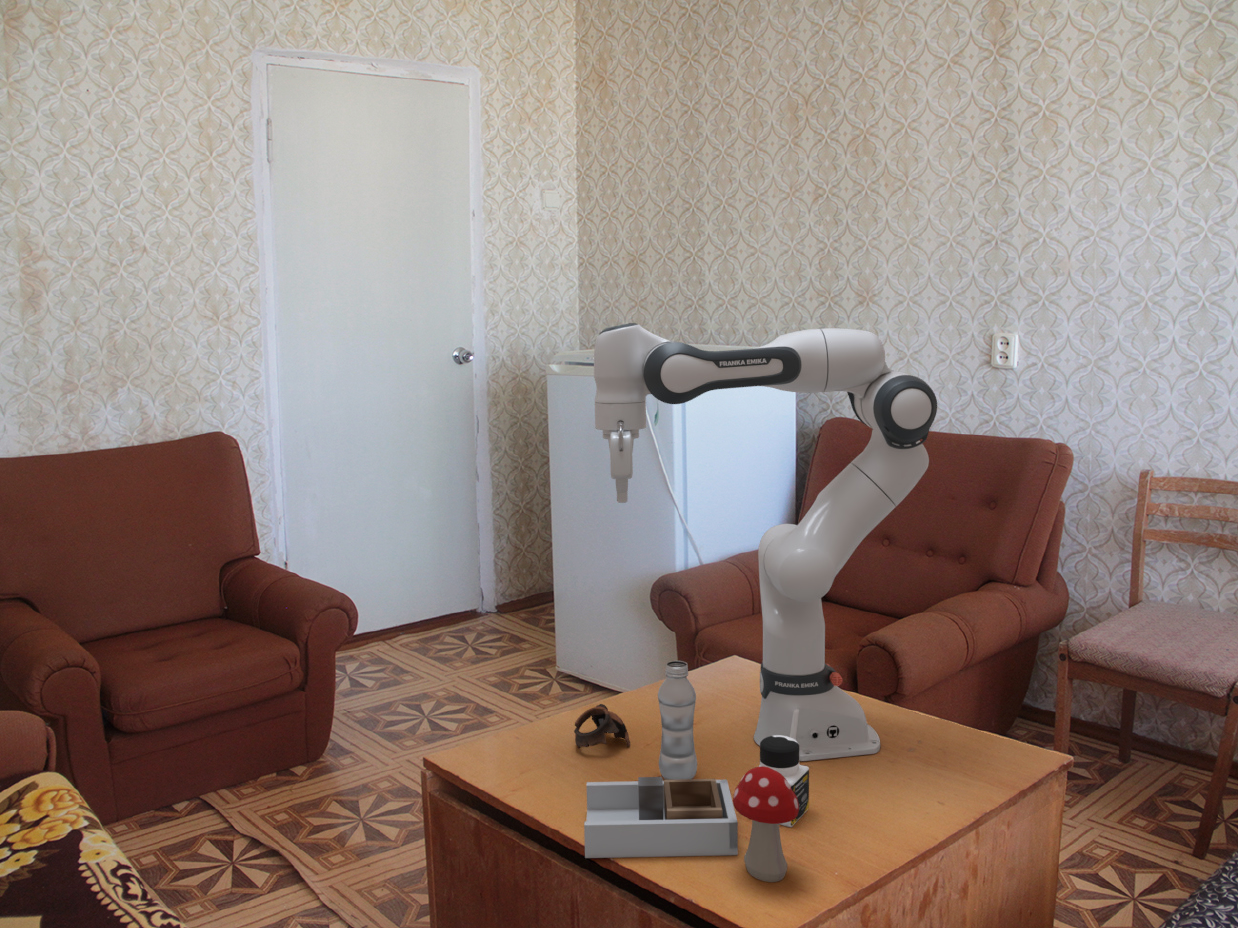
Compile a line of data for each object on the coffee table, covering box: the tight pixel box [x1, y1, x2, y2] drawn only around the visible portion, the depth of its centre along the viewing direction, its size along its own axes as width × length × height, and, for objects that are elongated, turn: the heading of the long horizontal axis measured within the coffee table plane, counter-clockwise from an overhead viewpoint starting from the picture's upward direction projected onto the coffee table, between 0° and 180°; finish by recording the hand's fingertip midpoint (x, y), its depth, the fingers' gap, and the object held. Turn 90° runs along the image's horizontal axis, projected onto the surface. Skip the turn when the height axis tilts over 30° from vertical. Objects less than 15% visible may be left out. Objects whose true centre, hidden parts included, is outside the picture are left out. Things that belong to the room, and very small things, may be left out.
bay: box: [583, 779, 739, 859], centre depth 156 cm, size 22×14×5 cm, turn 90°
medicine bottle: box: [757, 735, 810, 828], centre depth 161 cm, size 7×7×12 cm
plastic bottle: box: [657, 660, 698, 780], centre depth 173 cm, size 6×7×20 cm
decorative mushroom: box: [732, 766, 799, 883], centre depth 144 cm, size 10×9×15 cm
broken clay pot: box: [573, 703, 631, 749], centre depth 189 cm, size 12×10×8 cm
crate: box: [637, 776, 722, 820], centre depth 156 cm, size 12×10×7 cm
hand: (622, 497), depth 181 cm, fingers open, 8 cm apart
